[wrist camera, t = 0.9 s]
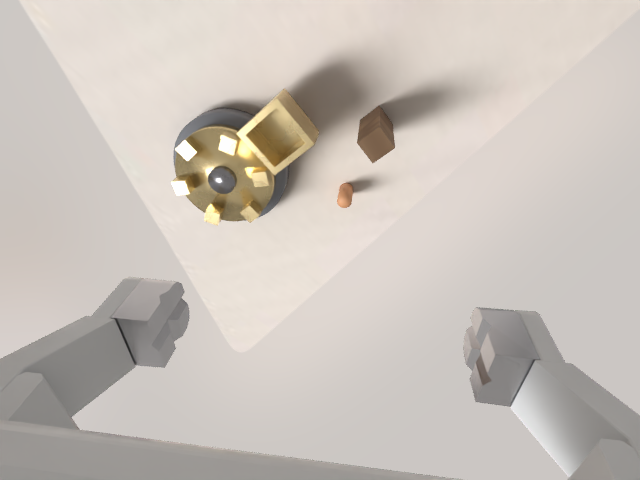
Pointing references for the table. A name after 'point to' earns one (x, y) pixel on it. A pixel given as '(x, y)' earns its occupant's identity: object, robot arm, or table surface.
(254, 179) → the rotary feeder
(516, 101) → the table surface
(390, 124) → the brown wooden peg
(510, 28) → the table surface
